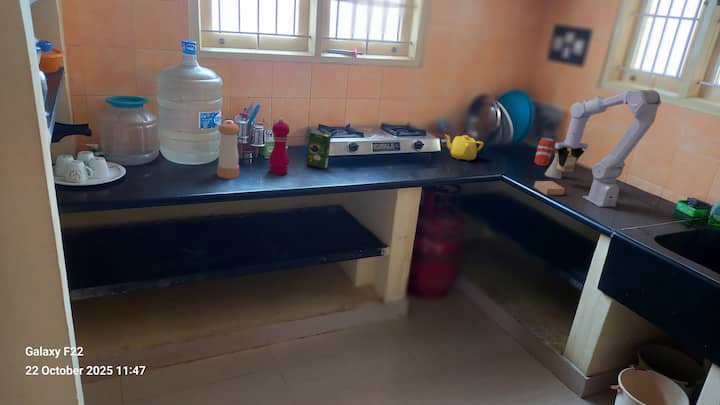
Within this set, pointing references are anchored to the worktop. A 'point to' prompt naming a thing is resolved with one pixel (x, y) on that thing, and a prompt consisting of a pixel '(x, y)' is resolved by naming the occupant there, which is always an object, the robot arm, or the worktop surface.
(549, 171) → the flask
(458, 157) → the teapot
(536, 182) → the base
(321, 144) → the coffee box
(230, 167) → the salt shaker
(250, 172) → the worktop surface
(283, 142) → the pepper mill
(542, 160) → the beverage can
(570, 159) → the block
